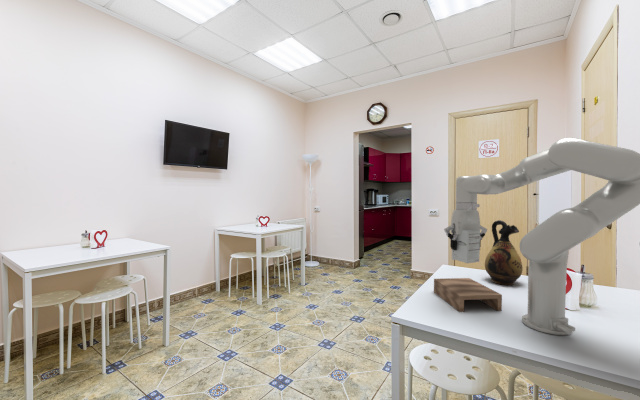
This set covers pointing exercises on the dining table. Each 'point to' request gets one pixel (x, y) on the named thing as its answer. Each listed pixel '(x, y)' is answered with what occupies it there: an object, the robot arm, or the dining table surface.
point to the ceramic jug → (503, 256)
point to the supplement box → (467, 246)
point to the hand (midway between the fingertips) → (465, 249)
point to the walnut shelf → (466, 292)
